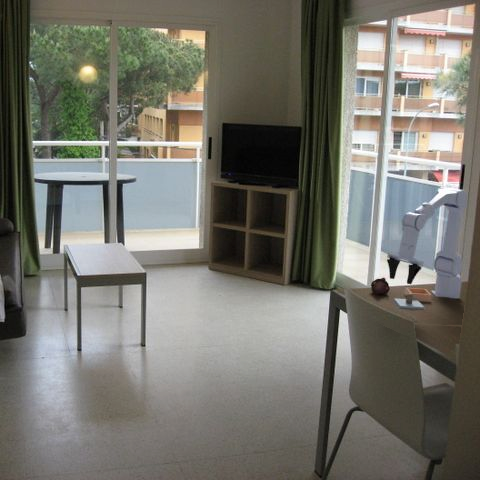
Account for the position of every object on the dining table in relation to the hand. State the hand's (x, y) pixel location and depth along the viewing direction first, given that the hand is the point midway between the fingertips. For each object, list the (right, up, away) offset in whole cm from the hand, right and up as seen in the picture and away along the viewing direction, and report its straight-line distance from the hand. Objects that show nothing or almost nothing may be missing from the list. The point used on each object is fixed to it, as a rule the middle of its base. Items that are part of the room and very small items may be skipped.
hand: (400, 281), depth 252 cm
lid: (+5, -9, +6) cm, 12 cm away
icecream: (-4, -7, +18) cm, 20 cm away
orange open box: (+10, -8, +15) cm, 20 cm away
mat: (+4, -10, +6) cm, 12 cm away
